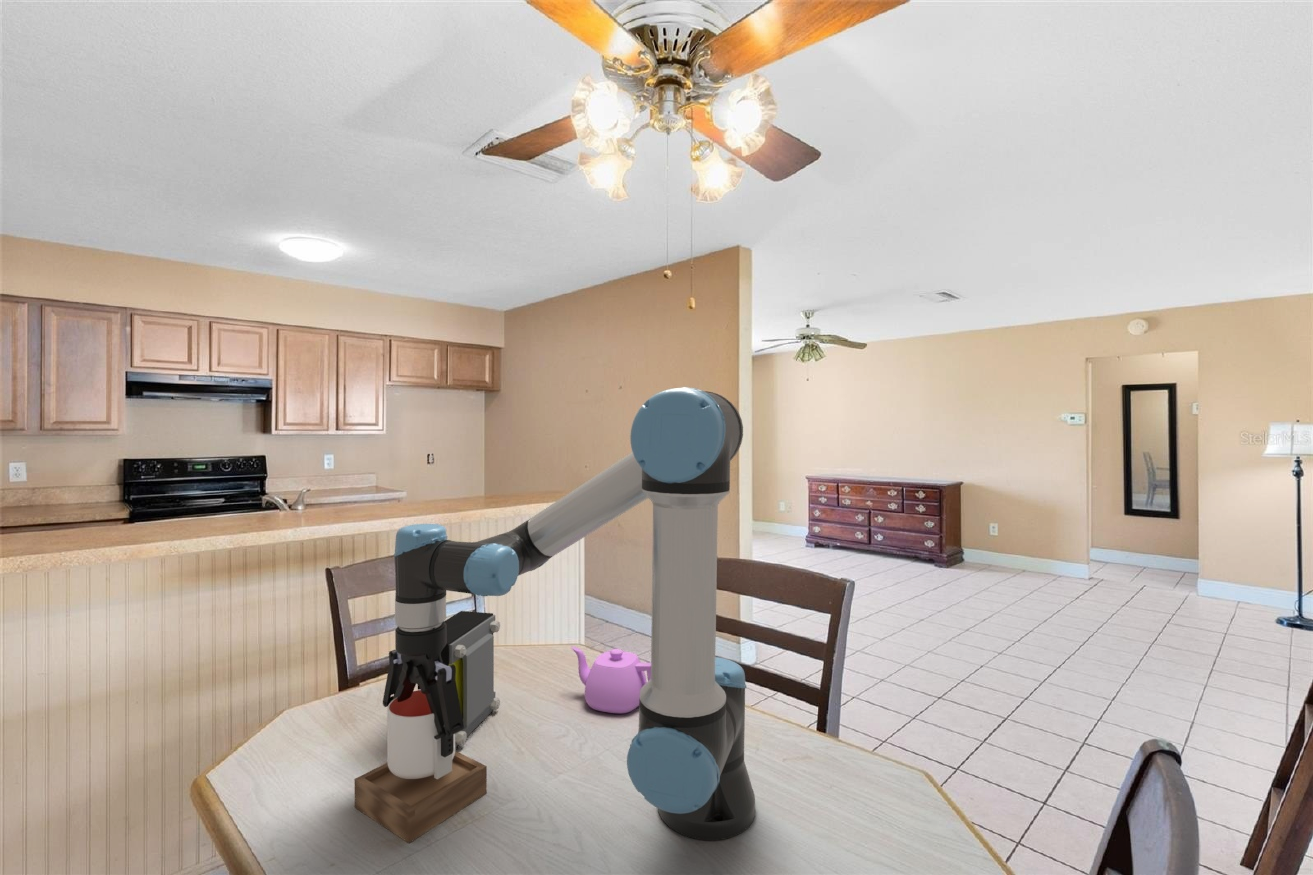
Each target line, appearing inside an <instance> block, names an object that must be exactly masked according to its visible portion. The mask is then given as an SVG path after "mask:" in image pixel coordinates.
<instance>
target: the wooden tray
mask: <svg viewBox="0 0 1313 875" xmlns="http://www.w3.org/2000/svg"><path fill="white" fill-rule="evenodd" d="M487 776H488V775H487V765H485V764H483V763H482V762H479V761H477V760H475V759H472V758H471V757H469V756H467V755H465V754H463V753H461V752H458V751H457V750H455V755H454V758H453V760H452V771H451V772H449V773H448V774H446V775H444V776H442V777H441V778H439V779H435V778H434V775H431V776H428V777H424V778H419V779H405V778H400V777H398V776H396V775H394V774H393V773H392V772H391V771H390V770H389V768H388V763H387V762H385V763H383V764H382V765H380V766H377V767H376V768H374V769H372V770H370V771H367V772H366V773H363V774H362V775H360V776H358V777H356V778H354V808H355V809H357V810H358V811H360V812H361V813H362V814H364V815H366V816H367V817H368V818H370V819H372V820H373V821H375V822H376V823H378V824H379V825H380V826H382V827H384V828H385V829H386V830H388V831H389V832H391V833H393V834H394V835H396V836H397V837H399V838H400V839H402V840H403V841H404V842H406V843H408V844H410V843H412V842H413V841H415V840H416V839H418V838H419V837H421V836H423V835H424V834H425V833H427V832H429V831H430V830H432V829H434V828H435V827H436V826H438V825H440V824H441V823H443V822H444V821H446V820H447V819H449V818H451V817H452V816H454V815H456V814H457V813H459V812H460V811H461V810H463V809H464V808H466V807H467V806H469V805H471V804H472V803H474V802H476V801H477V800H479V799H481V798H482V797H483V796H485V795H487V793H488V792H487V791H488V790H487V786H488V785H487V782H488V781H487V780H488V779H487Z"/></svg>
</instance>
